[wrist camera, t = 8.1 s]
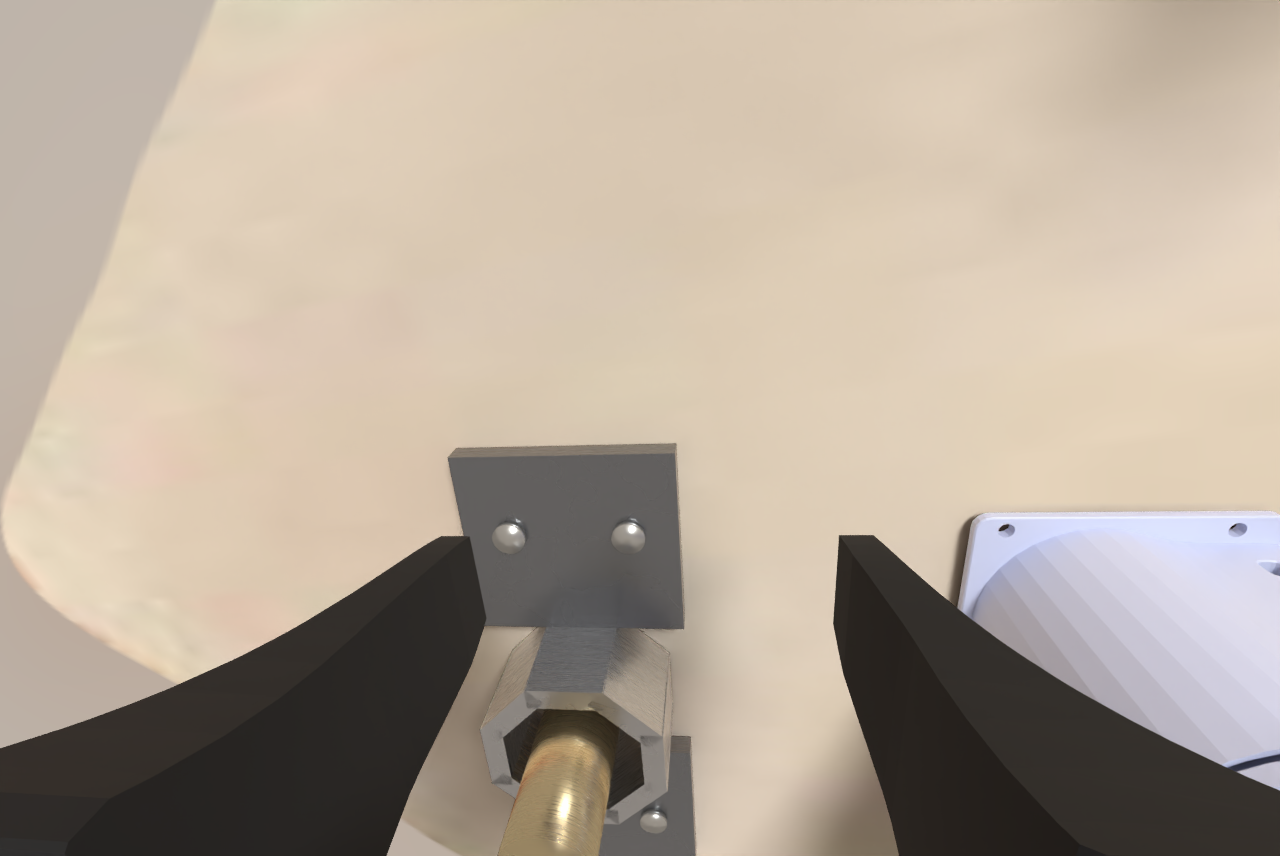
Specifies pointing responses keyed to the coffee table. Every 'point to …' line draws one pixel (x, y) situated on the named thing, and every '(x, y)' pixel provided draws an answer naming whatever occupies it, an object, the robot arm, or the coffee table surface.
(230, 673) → the robot arm
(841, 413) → the coffee table surface
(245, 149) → the coffee table surface
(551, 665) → the hinge
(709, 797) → the coffee table surface
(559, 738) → the hinge pin
